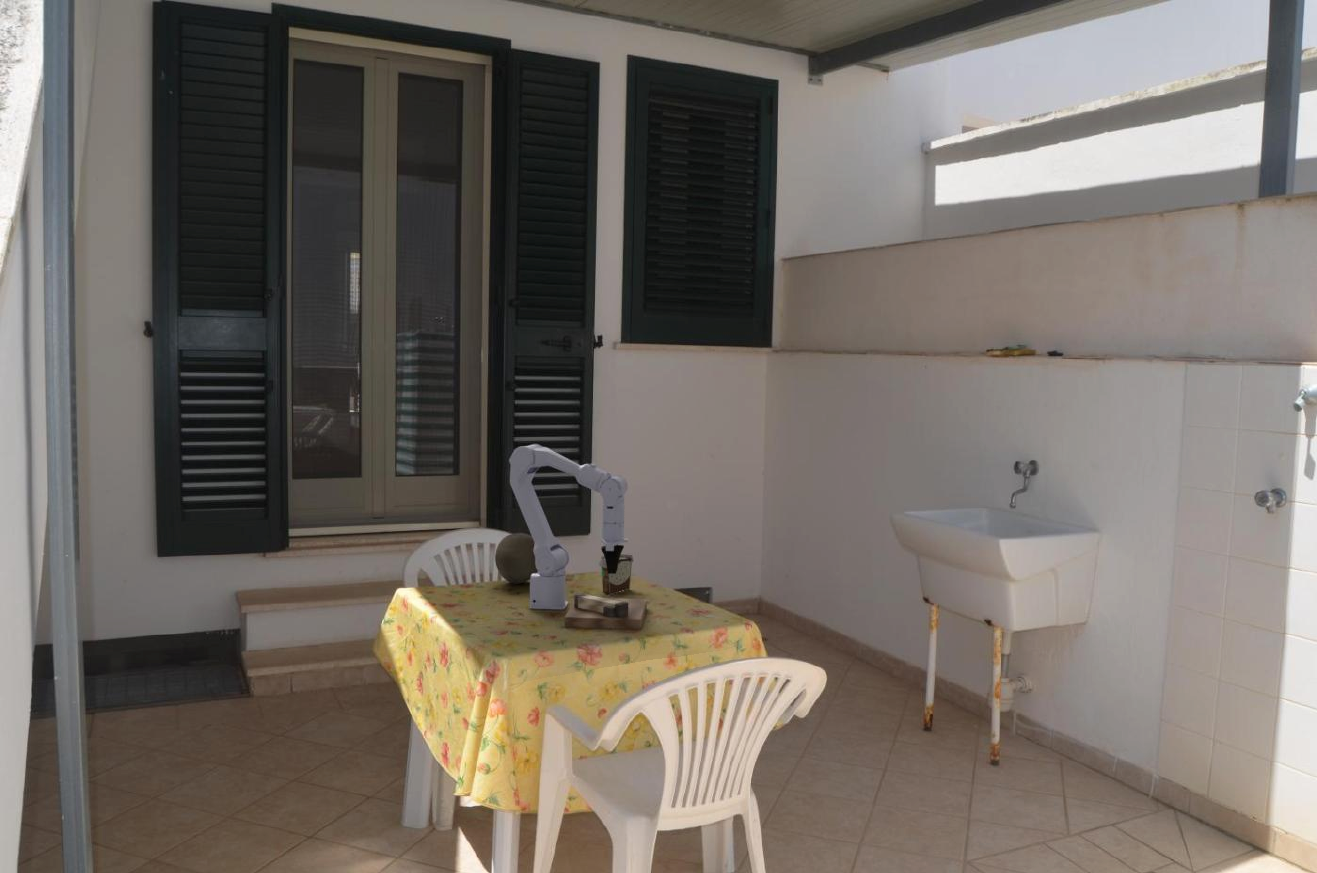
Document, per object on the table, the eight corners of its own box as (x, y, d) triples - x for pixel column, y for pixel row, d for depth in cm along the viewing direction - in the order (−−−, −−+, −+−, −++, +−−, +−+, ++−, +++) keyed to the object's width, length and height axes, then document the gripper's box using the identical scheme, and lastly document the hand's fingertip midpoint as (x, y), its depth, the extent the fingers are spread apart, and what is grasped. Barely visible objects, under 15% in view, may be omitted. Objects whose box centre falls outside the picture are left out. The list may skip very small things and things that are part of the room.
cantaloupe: (487, 581, 315) (487, 531, 314) (531, 577, 322) (532, 528, 321) (504, 591, 303) (505, 539, 302) (550, 586, 310) (550, 535, 309)
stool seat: (564, 627, 265) (564, 607, 264) (576, 606, 287) (576, 588, 286) (640, 629, 264) (640, 610, 263) (646, 608, 286) (646, 590, 285)
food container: (616, 585, 313) (616, 552, 312) (632, 588, 309) (633, 554, 309) (589, 592, 303) (590, 558, 302) (606, 596, 299) (607, 561, 299)
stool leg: (571, 606, 275) (571, 594, 275) (580, 604, 278) (580, 592, 277) (619, 617, 265) (620, 604, 265) (628, 615, 267) (628, 602, 267)
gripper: (625, 527, 272) (624, 579, 273) (631, 518, 286) (630, 568, 287) (598, 526, 272) (597, 578, 273) (605, 517, 287) (604, 567, 288)
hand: (612, 573), depth 280 cm, fingers closed
